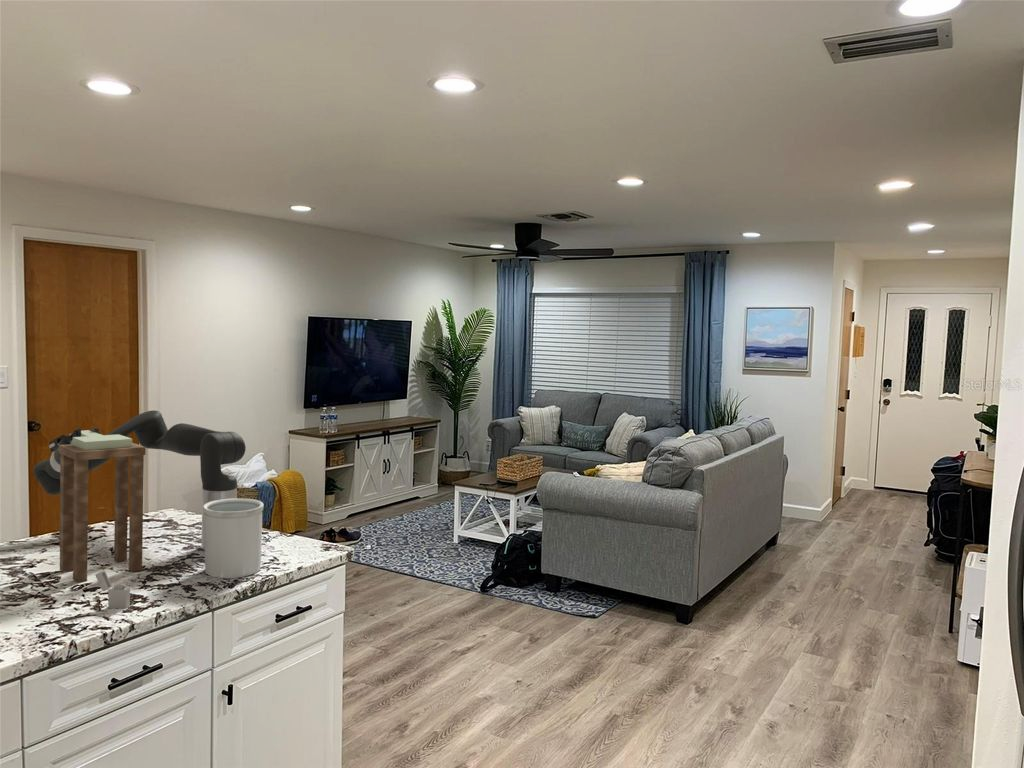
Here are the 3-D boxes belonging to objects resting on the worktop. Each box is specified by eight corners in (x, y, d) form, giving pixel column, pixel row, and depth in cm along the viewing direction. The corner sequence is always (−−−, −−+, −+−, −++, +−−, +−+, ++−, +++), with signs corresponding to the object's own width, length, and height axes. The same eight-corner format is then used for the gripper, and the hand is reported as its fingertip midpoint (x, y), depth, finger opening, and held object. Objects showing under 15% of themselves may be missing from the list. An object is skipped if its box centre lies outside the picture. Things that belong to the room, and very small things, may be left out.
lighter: (130, 606, 172) (130, 571, 172) (126, 609, 170) (126, 573, 170) (99, 604, 172) (99, 569, 172) (94, 607, 170) (95, 572, 170)
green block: (103, 436, 208) (103, 429, 208) (132, 446, 194) (132, 438, 194) (58, 439, 200) (58, 431, 199) (85, 450, 186) (85, 442, 186)
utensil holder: (226, 583, 190) (227, 514, 189) (189, 571, 198) (190, 504, 197) (274, 569, 202) (275, 504, 201) (238, 558, 210) (239, 495, 209)
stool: (124, 558, 206) (125, 440, 203) (143, 570, 197) (145, 447, 195) (58, 569, 194) (58, 445, 192) (75, 583, 185) (76, 452, 183)
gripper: (37, 444, 207) (55, 419, 196) (94, 441, 217) (114, 416, 206) (41, 470, 205) (60, 446, 194) (98, 465, 215) (119, 442, 204)
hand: (87, 431), depth 200 cm, fingers closed on green block, 3 cm apart
